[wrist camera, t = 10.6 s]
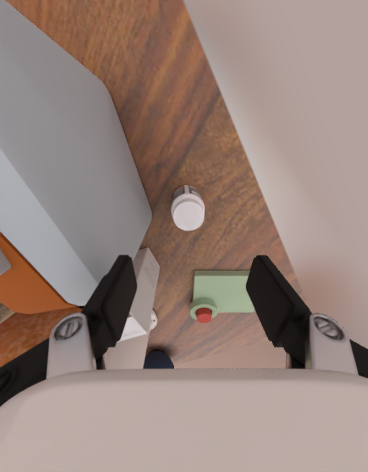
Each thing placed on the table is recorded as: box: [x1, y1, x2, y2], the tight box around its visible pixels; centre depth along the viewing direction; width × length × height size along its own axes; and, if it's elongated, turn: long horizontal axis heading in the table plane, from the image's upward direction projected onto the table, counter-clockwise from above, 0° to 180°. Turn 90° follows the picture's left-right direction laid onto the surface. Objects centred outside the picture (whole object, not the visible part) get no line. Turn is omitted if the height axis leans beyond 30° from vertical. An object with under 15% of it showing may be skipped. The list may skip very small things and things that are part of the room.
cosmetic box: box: [117, 247, 160, 342], centre depth 26 cm, size 8×6×15 cm
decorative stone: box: [143, 351, 174, 369], centre depth 49 cm, size 12×12×10 cm
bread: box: [0, 307, 83, 367], centre depth 37 cm, size 14×27×15 cm
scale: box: [190, 271, 255, 320], centre depth 36 cm, size 17×14×4 cm
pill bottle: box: [171, 185, 205, 231], centre depth 22 cm, size 5×5×8 cm
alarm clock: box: [0, 0, 152, 314], centre depth 15 cm, size 18×9×21 cm, turn 13°
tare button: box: [196, 308, 212, 323], centre depth 36 cm, size 4×4×2 cm
